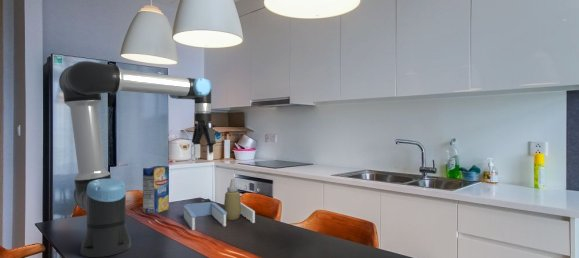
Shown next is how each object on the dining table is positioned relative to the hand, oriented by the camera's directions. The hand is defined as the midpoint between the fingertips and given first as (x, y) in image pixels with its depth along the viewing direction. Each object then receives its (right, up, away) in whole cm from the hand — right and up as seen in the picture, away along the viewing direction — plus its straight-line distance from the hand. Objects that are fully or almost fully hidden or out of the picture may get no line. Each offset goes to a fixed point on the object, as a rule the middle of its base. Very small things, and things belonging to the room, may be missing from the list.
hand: (203, 159), depth 158 cm
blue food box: (-28, -28, +15) cm, 42 cm away
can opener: (-5, -28, +13) cm, 31 cm away
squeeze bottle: (+13, -28, 0) cm, 31 cm away
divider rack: (+7, -28, -3) cm, 29 cm away
